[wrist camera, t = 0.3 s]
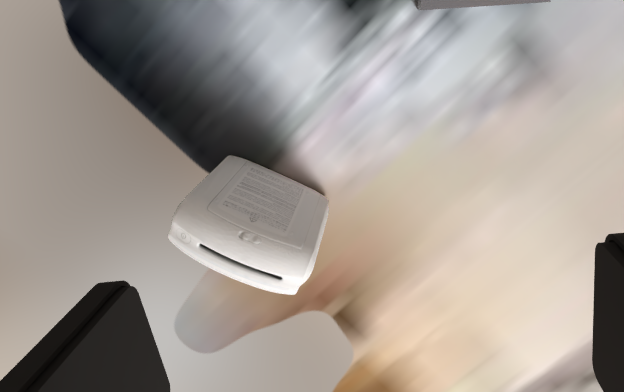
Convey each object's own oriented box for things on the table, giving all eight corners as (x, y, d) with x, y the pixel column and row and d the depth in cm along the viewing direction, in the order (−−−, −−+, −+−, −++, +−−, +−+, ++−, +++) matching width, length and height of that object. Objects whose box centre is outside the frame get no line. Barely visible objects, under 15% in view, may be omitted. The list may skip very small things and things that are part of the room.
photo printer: (209, 189, 43) (147, 258, 32) (225, 146, 41) (166, 201, 30) (317, 236, 43) (295, 321, 32) (337, 195, 42) (321, 269, 30)
